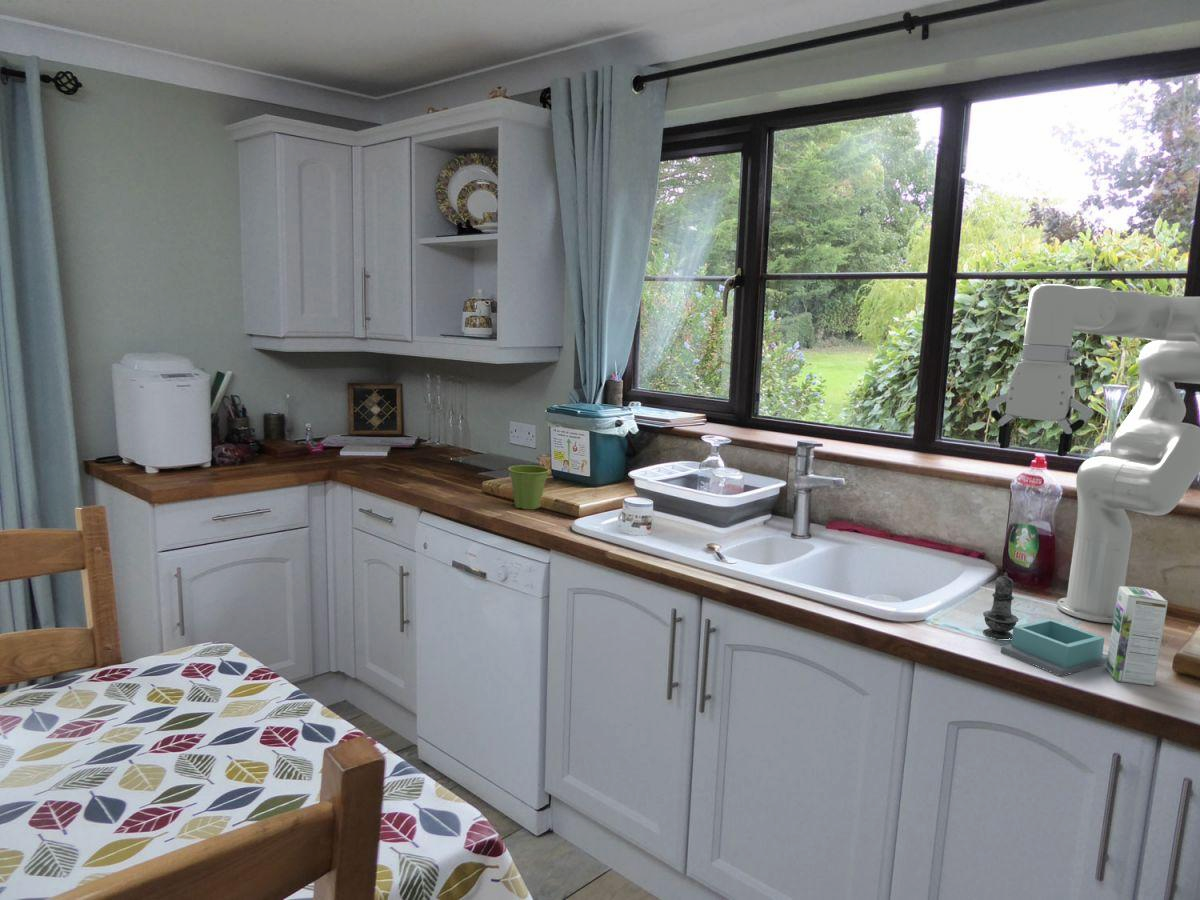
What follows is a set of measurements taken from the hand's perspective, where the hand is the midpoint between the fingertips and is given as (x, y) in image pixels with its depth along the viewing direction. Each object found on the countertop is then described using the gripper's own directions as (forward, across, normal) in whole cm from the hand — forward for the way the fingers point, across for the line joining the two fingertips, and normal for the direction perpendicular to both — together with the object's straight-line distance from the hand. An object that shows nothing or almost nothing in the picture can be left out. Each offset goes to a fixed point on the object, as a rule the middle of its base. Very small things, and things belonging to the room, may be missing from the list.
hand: (1032, 451), depth 150 cm
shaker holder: (+34, -10, +6) cm, 36 cm away
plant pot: (+35, +130, +4) cm, 135 cm away
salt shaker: (+34, +1, +2) cm, 34 cm away
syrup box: (+34, -21, +6) cm, 40 cm away
